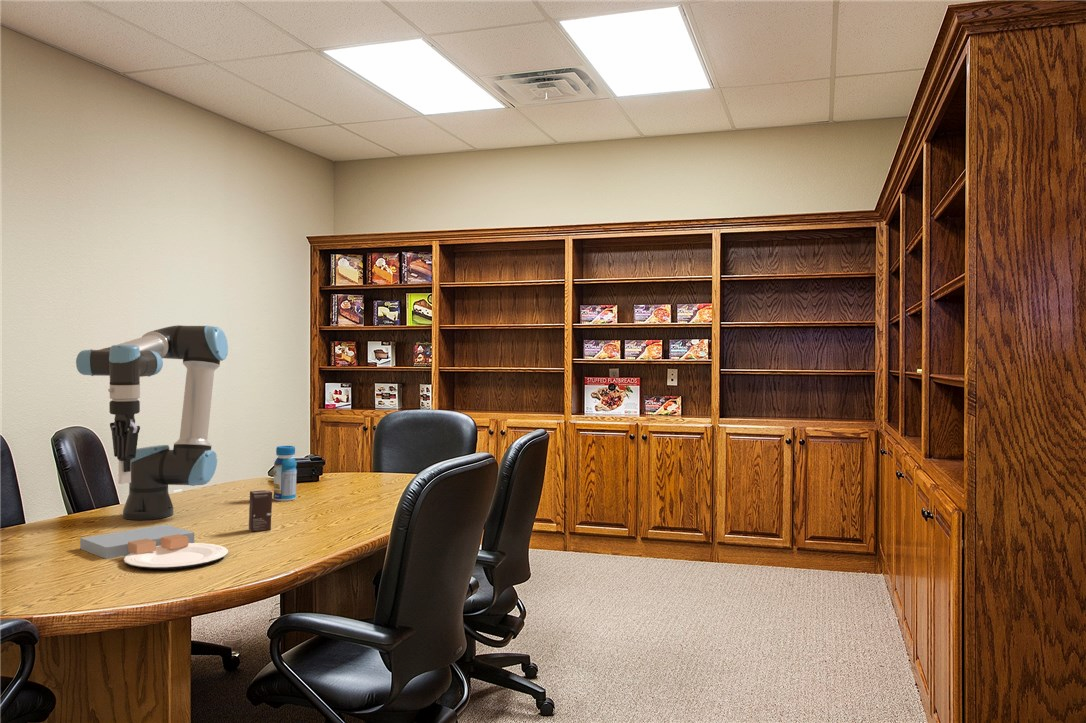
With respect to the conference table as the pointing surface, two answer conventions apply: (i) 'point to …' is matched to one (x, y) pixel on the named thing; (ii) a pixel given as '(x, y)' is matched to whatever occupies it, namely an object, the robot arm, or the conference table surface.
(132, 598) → the conference table surface
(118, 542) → the board
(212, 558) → the plate
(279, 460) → the beverage bottle
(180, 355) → the robot arm
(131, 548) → the tile
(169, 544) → the tile
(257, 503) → the box
